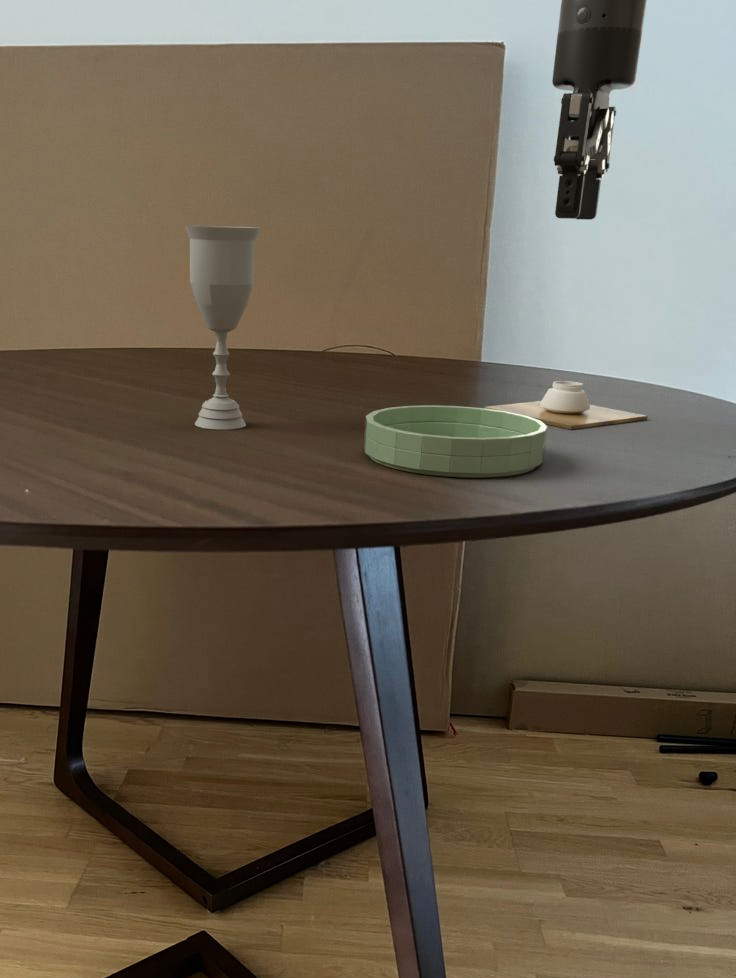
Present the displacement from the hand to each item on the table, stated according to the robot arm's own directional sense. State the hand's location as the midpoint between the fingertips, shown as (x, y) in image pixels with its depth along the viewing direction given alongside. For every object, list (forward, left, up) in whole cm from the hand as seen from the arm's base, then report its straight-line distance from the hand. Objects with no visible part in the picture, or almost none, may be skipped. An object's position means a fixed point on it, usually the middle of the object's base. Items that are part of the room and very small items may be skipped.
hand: (575, 218), depth 101 cm
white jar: (-2, 0, -19) cm, 19 cm away
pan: (+23, +10, -19) cm, 32 cm away
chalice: (+33, -12, -20) cm, 41 cm away
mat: (-3, 0, -19) cm, 20 cm away
